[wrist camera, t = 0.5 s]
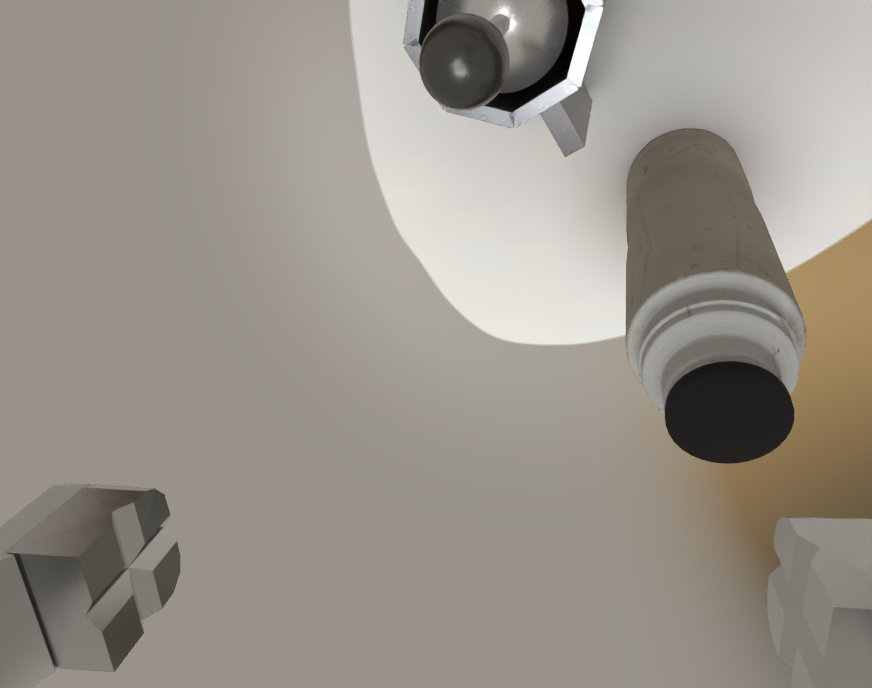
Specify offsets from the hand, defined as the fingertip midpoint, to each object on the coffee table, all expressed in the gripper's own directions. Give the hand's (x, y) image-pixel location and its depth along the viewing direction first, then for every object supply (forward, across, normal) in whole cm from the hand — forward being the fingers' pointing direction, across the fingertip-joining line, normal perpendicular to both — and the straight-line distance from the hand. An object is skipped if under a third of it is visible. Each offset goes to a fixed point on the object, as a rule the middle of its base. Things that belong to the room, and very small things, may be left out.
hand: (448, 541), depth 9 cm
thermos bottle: (+46, -10, +2) cm, 47 cm away
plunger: (+32, +2, -8) cm, 33 cm away
